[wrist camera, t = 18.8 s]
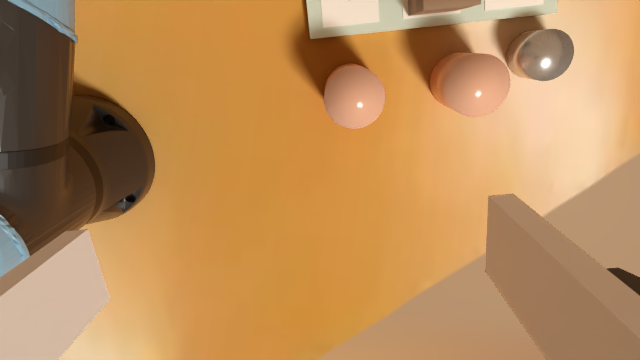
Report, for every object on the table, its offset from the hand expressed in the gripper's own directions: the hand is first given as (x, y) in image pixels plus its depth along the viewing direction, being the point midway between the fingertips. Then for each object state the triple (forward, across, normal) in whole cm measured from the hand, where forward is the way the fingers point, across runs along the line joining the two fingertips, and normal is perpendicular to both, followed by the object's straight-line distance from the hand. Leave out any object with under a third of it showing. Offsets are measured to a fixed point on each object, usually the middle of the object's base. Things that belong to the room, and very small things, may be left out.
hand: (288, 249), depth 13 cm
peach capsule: (+35, +4, +1) cm, 35 cm away
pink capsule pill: (+35, +16, +1) cm, 38 cm away
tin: (+35, +24, +3) cm, 42 cm away
